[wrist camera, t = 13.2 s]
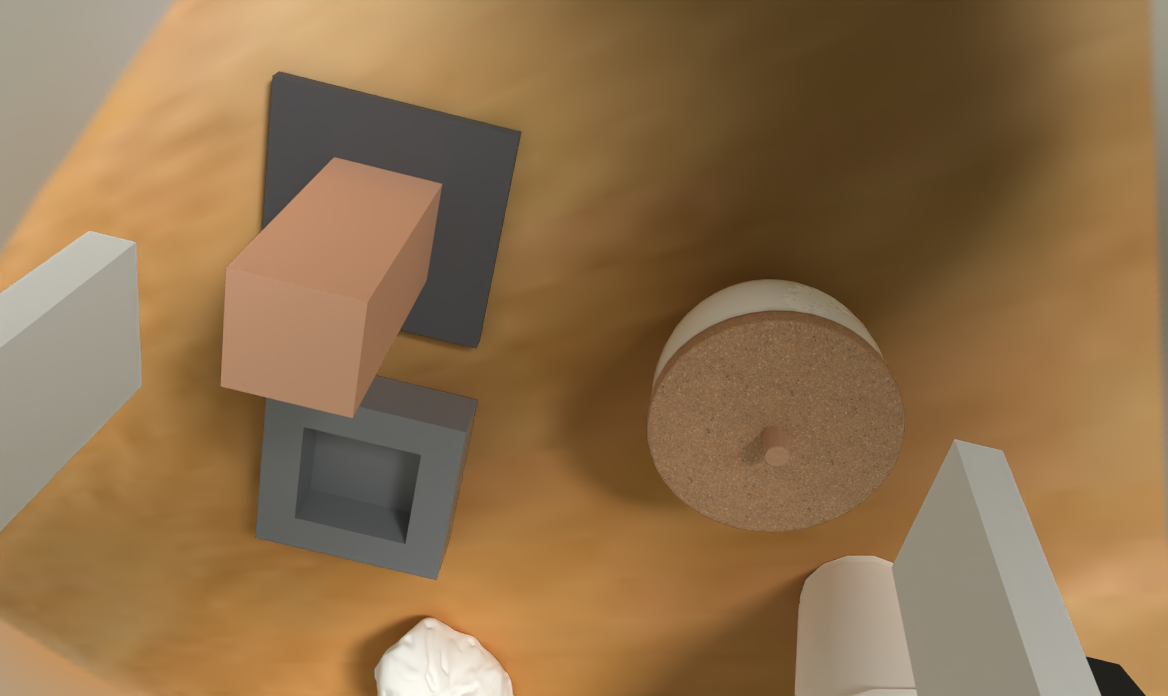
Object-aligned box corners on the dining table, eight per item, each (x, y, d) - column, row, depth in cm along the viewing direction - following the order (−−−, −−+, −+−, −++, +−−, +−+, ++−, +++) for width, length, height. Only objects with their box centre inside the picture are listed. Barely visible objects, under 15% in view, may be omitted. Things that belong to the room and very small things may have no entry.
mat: (521, 131, 44) (518, 137, 43) (479, 340, 49) (476, 348, 49) (279, 71, 44) (272, 75, 43) (264, 288, 49) (257, 295, 48)
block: (442, 183, 45) (367, 301, 34) (426, 280, 47) (352, 417, 37) (334, 157, 45) (226, 267, 34) (324, 255, 47) (220, 386, 37)
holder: (477, 399, 51) (466, 432, 49) (448, 543, 56) (436, 580, 54) (288, 354, 51) (266, 384, 48) (275, 502, 56) (255, 537, 53)
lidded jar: (683, 219, 45) (682, 312, 37) (908, 273, 46) (957, 377, 38) (629, 409, 51) (618, 527, 43) (831, 456, 51) (858, 582, 43)
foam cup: (796, 518, 53) (826, 714, 42) (967, 548, 53) (1042, 752, 42) (756, 643, 58) (772, 850, 46) (912, 671, 58) (967, 884, 46)
